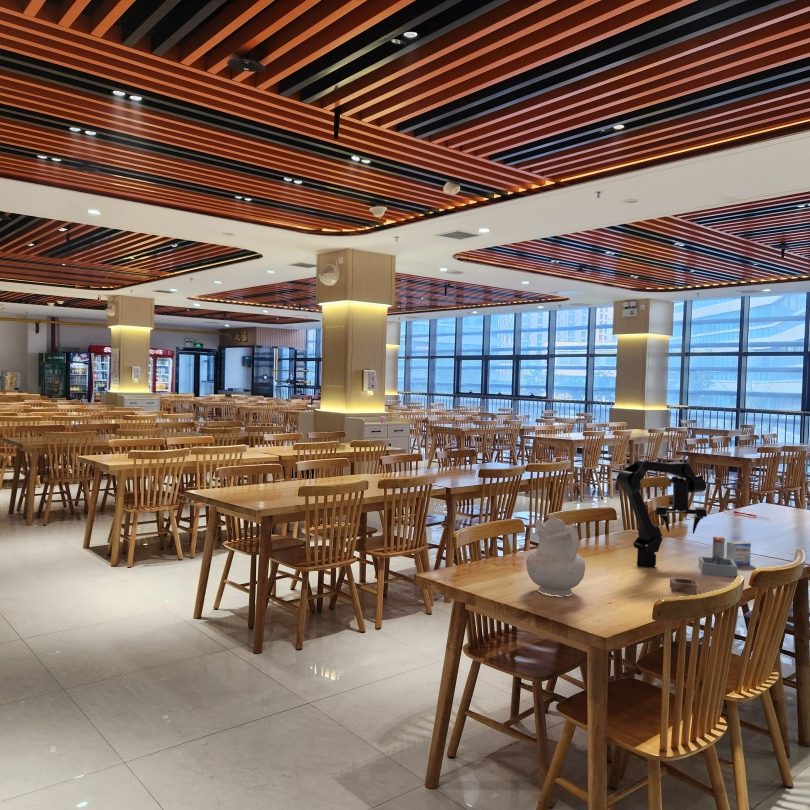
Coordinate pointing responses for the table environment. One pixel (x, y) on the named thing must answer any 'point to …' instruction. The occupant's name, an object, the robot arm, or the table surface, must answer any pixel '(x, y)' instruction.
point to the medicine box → (739, 552)
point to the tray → (717, 567)
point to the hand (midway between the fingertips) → (680, 532)
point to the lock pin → (718, 550)
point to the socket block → (683, 585)
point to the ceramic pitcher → (556, 558)
